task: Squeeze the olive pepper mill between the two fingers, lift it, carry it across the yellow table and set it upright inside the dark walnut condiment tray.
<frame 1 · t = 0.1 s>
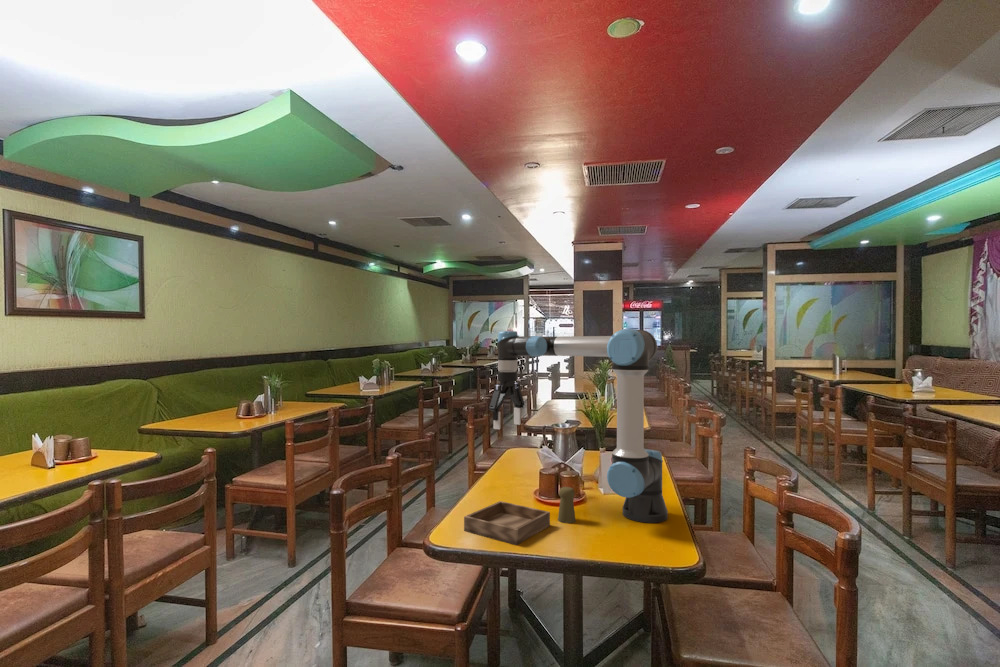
hand: (507, 426, 197), 28 cm above the table, tool pointing down, fingers open, 13 cm apart
olive pepper mill: (566, 520, 174), on the table
condiment tray: (507, 528, 166), on the table
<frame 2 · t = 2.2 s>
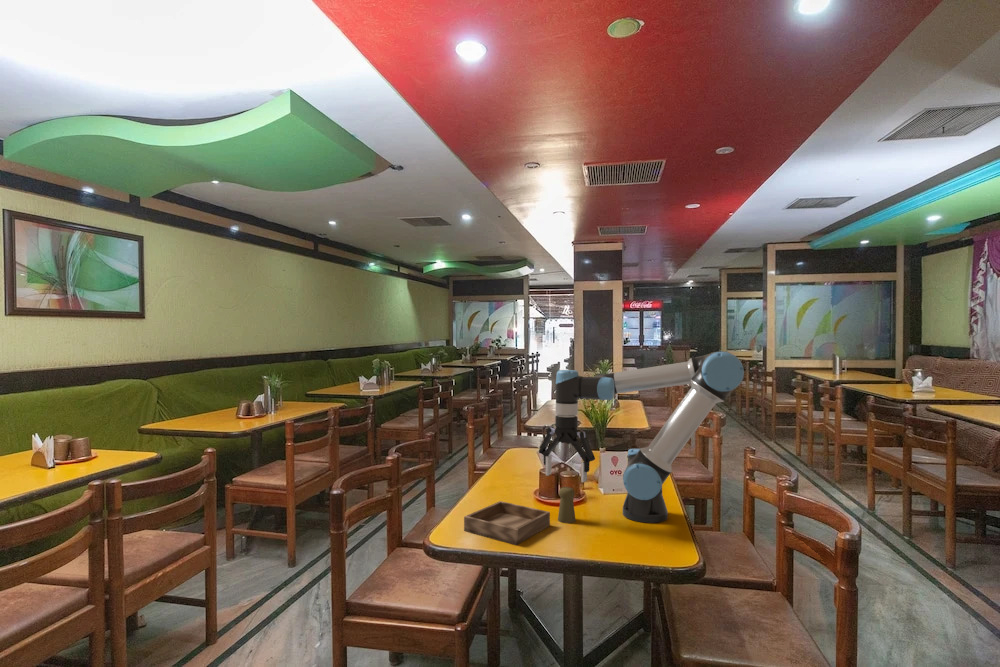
hand: (565, 478, 174), 14 cm above the table, tool pointing down, fingers open, 13 cm apart
nothing on the table moved.
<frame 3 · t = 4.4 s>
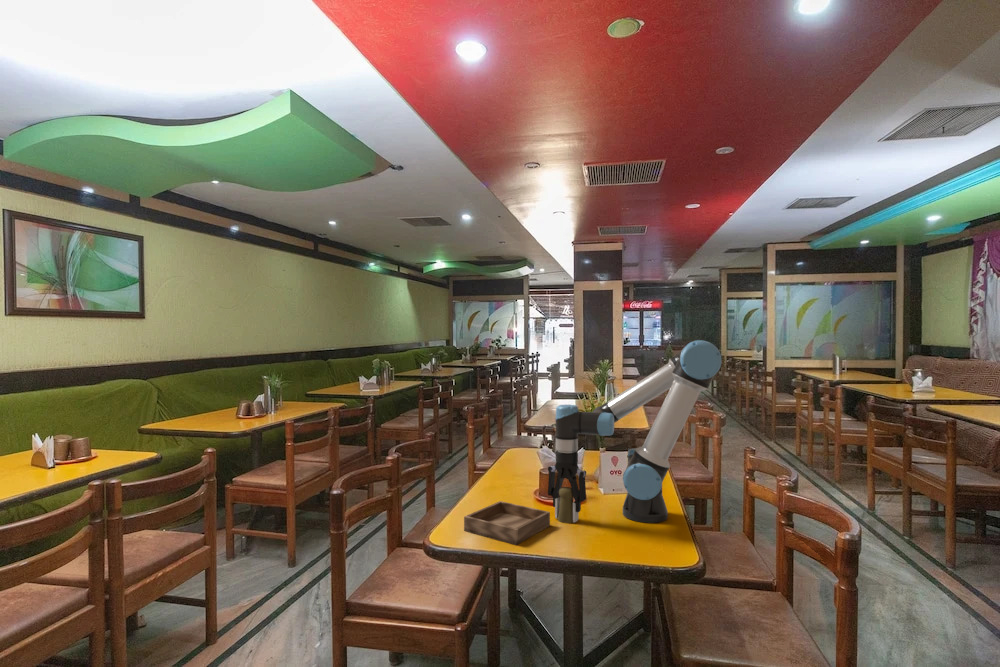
hand: (566, 518, 174), 0 cm above the table, tool pointing down, fingers closed on olive pepper mill, 6 cm apart
olive pepper mill: (566, 520, 174), on the table, touching gripper
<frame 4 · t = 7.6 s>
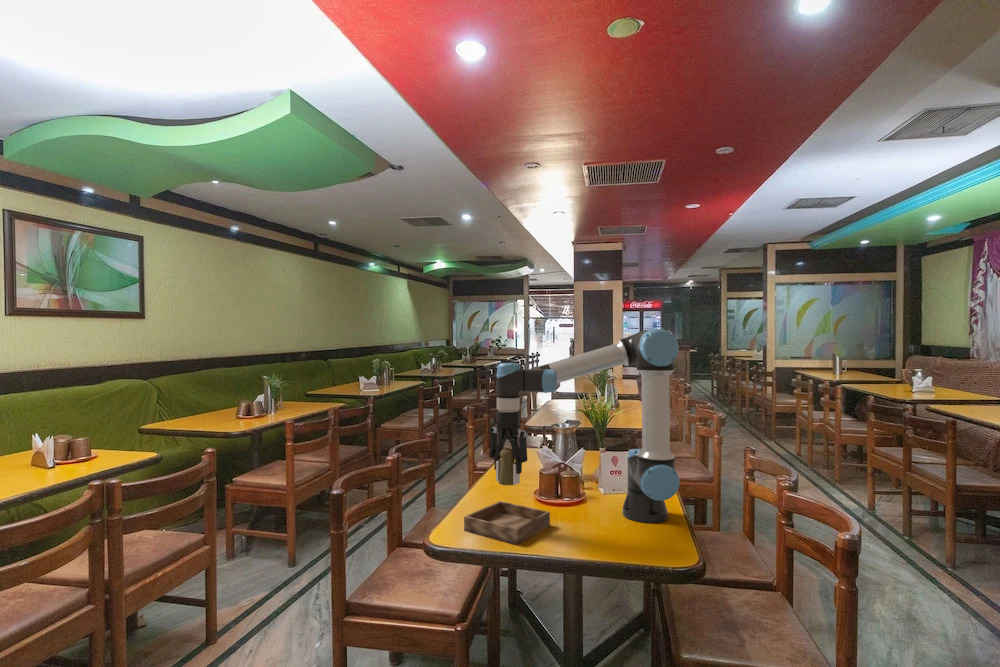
hand: (507, 481, 167), 15 cm above the table, tool pointing down, fingers closed on olive pepper mill, 6 cm apart
olive pepper mill: (507, 483, 167), point 14 cm above the table, touching gripper
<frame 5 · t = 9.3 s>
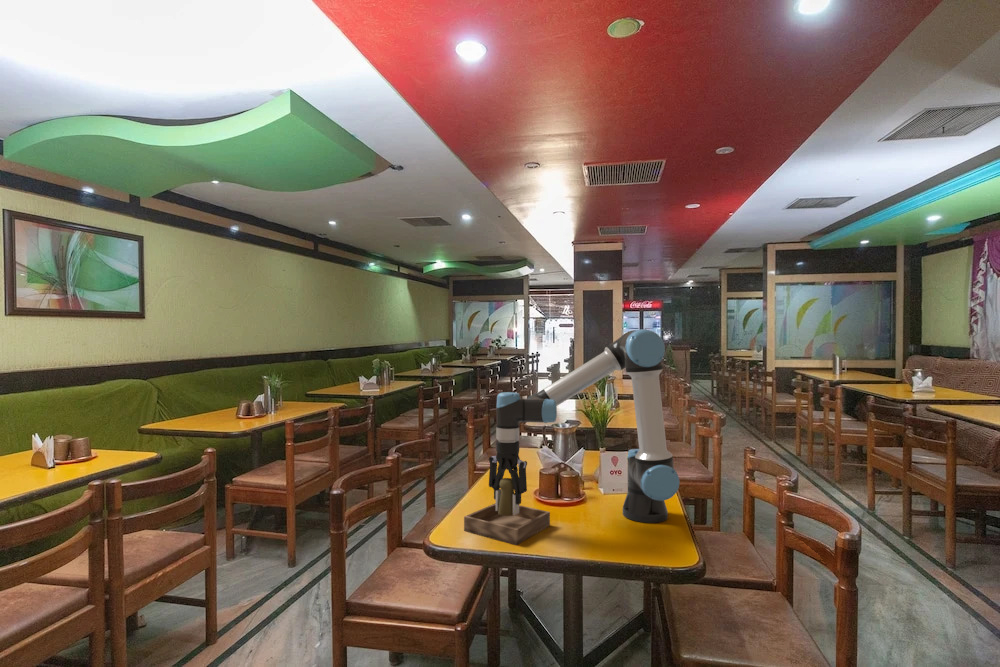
hand: (507, 511, 166), 5 cm above the table, tool pointing down, fingers closed on olive pepper mill, 6 cm apart
olive pepper mill: (507, 513, 166), point 5 cm above the table, touching gripper
when the fingers open (2 cm above the table, at t = 10.7 s): olive pepper mill stays where it is, resting on condiment tray.
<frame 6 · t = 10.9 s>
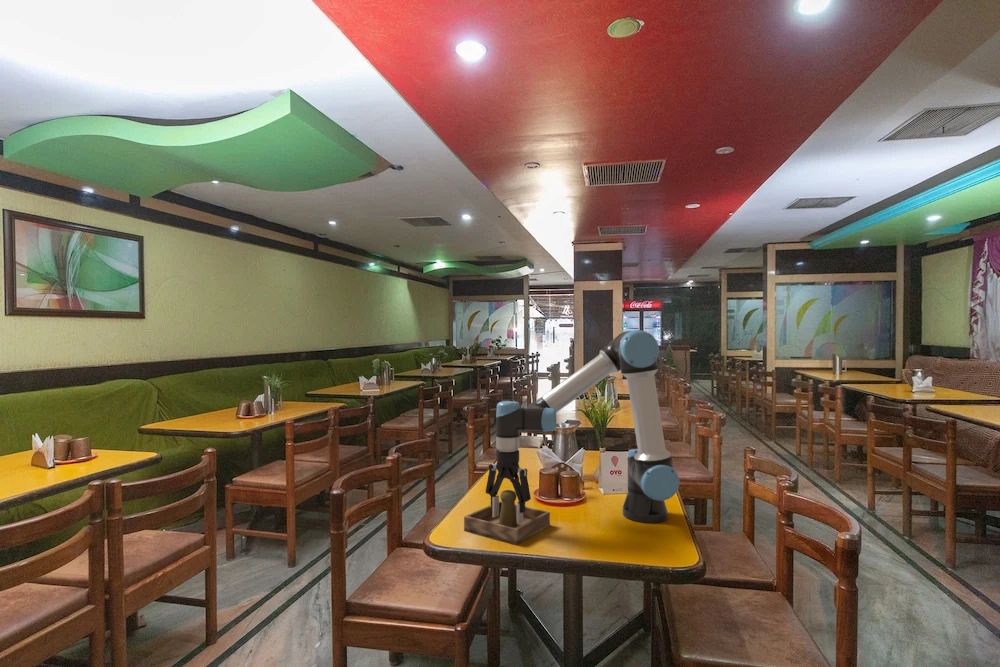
hand: (507, 519, 166), 3 cm above the table, tool pointing down, fingers open, 9 cm apart
olive pepper mill: (507, 525, 166), point 1 cm above the table, touching condiment tray
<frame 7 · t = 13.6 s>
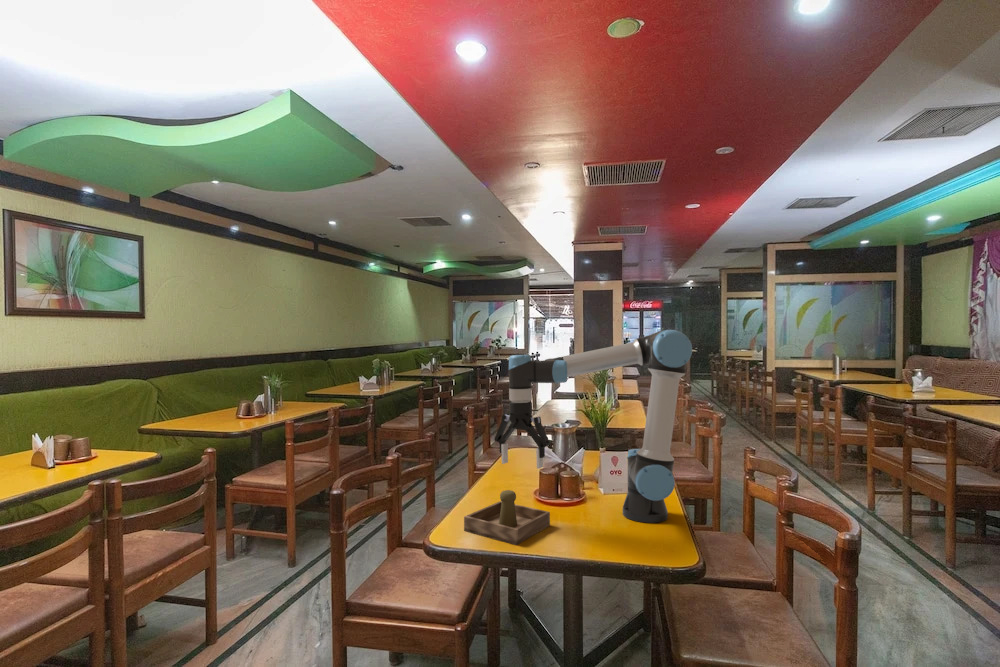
hand: (521, 465, 170), 19 cm above the table, tool pointing down, fingers open, 13 cm apart
nothing on the table moved.
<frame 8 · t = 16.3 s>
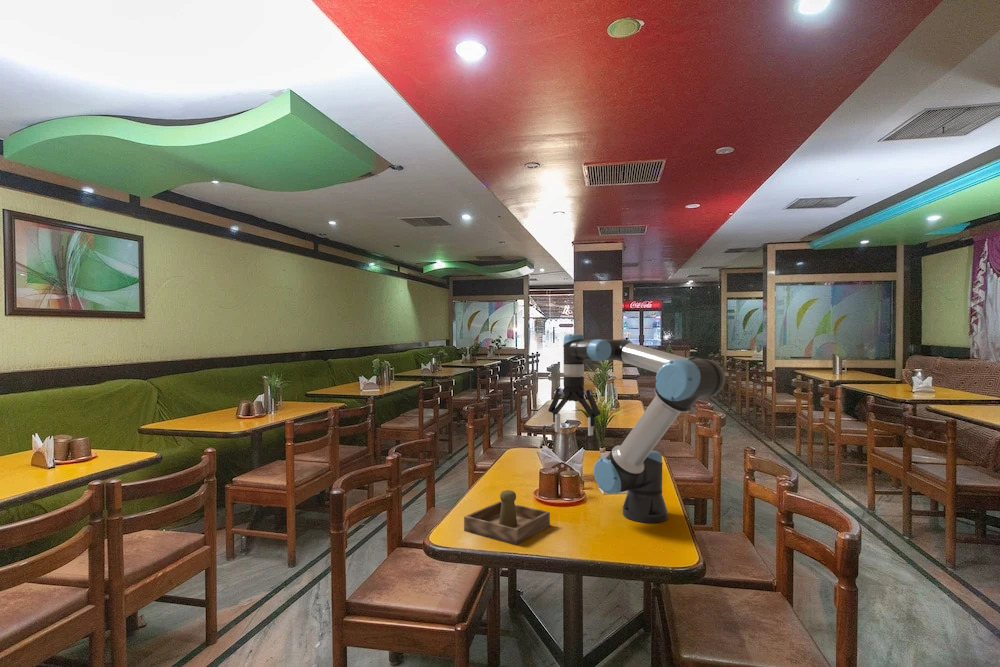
hand: (573, 433, 190), 27 cm above the table, tool pointing down, fingers open, 13 cm apart
nothing on the table moved.
at the end: olive pepper mill inside the target area on the condiment tray (0.1 cm from its centre), point 0.8 cm above the condiment tray's base; olive pepper mill tilted 0°; the gripper is holding nothing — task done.
